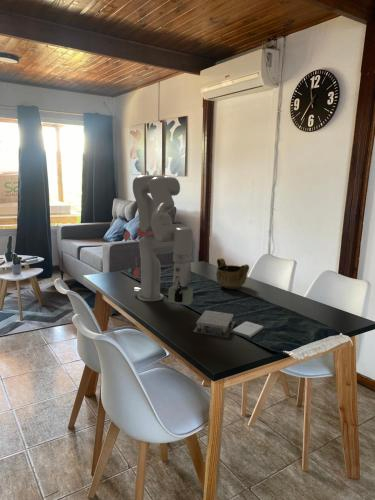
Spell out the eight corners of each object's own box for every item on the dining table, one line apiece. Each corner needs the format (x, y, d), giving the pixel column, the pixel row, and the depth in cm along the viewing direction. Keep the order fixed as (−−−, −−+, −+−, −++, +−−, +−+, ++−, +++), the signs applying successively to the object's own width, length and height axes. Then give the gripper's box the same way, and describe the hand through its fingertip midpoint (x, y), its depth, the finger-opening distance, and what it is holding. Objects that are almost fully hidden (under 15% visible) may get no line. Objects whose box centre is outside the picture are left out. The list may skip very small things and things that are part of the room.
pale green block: (168, 302, 154) (168, 287, 153) (172, 298, 159) (172, 283, 157) (188, 305, 151) (189, 290, 150) (192, 301, 156) (193, 286, 155)
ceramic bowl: (256, 290, 202) (258, 263, 199) (233, 295, 191) (235, 267, 189) (228, 280, 219) (229, 255, 216) (206, 285, 209) (207, 259, 206)
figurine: (120, 278, 218) (121, 219, 210) (159, 273, 231) (161, 217, 224) (131, 285, 205) (131, 222, 198) (171, 279, 219) (173, 221, 211)
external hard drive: (230, 333, 146) (245, 324, 156) (249, 339, 141) (263, 329, 151) (230, 329, 146) (245, 320, 155) (249, 335, 141) (263, 325, 151)
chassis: (192, 332, 145) (193, 322, 144) (203, 317, 160) (204, 309, 159) (227, 337, 141) (228, 327, 140) (235, 322, 156) (236, 313, 155)
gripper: (184, 263, 142) (182, 308, 146) (197, 254, 158) (195, 294, 162) (166, 261, 144) (164, 305, 148) (180, 252, 160) (178, 292, 164)
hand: (180, 299), depth 155 cm, fingers closed on pale green block, 5 cm apart
